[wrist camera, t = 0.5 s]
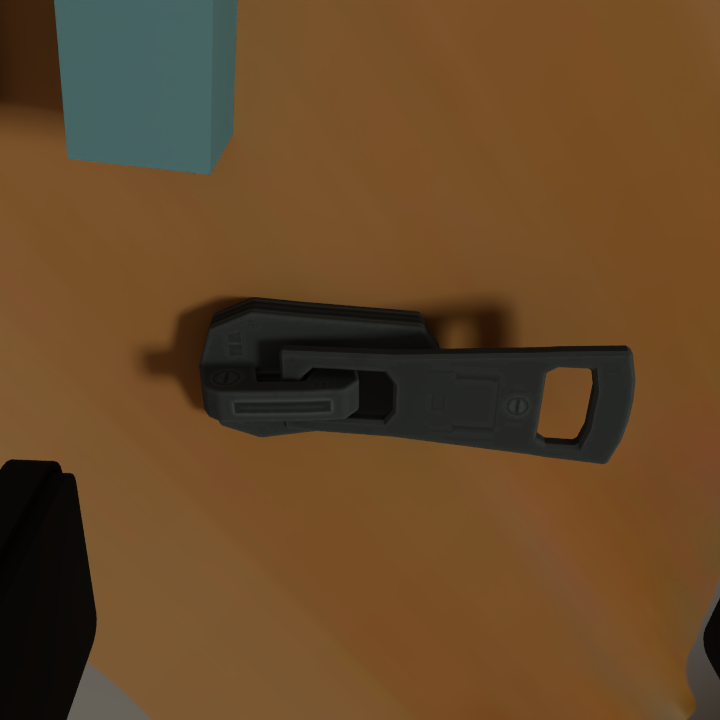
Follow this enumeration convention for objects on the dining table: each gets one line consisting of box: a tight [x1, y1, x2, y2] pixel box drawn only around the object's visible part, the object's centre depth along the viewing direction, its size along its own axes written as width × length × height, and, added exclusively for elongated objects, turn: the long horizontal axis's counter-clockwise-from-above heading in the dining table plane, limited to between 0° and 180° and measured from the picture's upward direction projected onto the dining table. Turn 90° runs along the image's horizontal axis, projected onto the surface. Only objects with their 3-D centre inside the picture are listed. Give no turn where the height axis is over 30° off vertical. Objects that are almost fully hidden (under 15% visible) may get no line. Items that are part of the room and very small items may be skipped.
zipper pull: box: [199, 297, 635, 464], centre depth 41 cm, size 9×7×25 cm
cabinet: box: [54, 0, 237, 175], centre depth 30 cm, size 11×6×8 cm, turn 173°
